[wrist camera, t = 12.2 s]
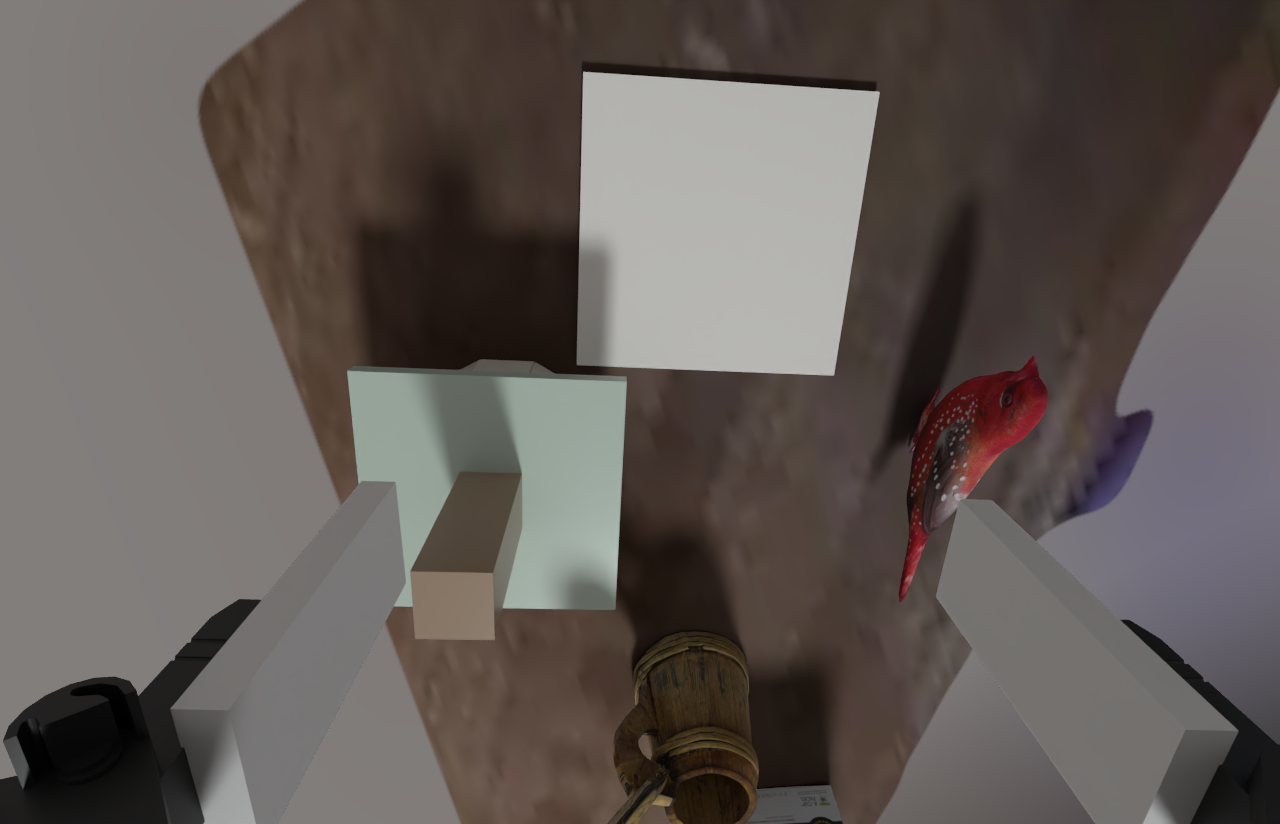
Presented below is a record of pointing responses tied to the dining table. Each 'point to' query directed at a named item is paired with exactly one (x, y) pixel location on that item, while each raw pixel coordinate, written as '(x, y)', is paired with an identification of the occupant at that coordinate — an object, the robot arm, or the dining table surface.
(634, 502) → the dining table surface
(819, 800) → the tea box
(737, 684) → the wooden mug
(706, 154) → the mat
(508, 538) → the lid
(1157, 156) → the dining table surface
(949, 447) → the decorative bird figurine
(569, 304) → the dining table surface
